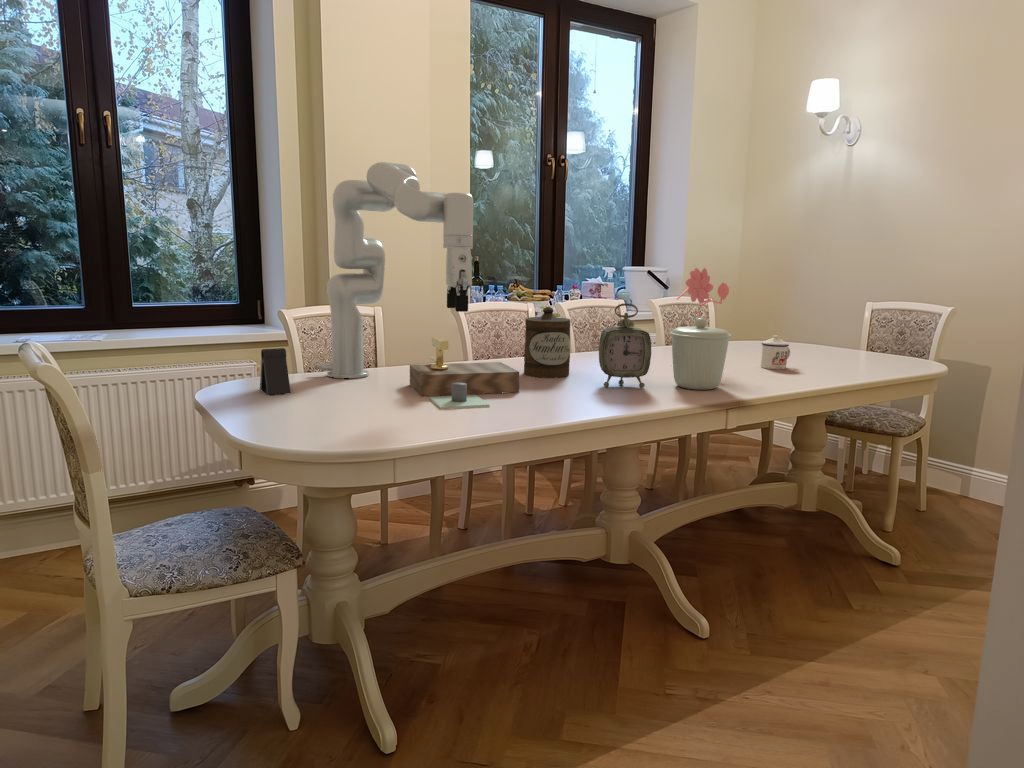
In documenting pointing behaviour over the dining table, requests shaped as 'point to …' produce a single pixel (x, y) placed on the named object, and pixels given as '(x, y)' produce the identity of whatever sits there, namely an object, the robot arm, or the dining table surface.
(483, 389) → the walnut case
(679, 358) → the canister
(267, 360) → the black folding stand
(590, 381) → the dining table surface
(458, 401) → the lid
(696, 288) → the pink paper flower
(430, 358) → the t-shaped display stand
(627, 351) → the tabletop clock
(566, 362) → the wooden container
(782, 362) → the teacup with lid
